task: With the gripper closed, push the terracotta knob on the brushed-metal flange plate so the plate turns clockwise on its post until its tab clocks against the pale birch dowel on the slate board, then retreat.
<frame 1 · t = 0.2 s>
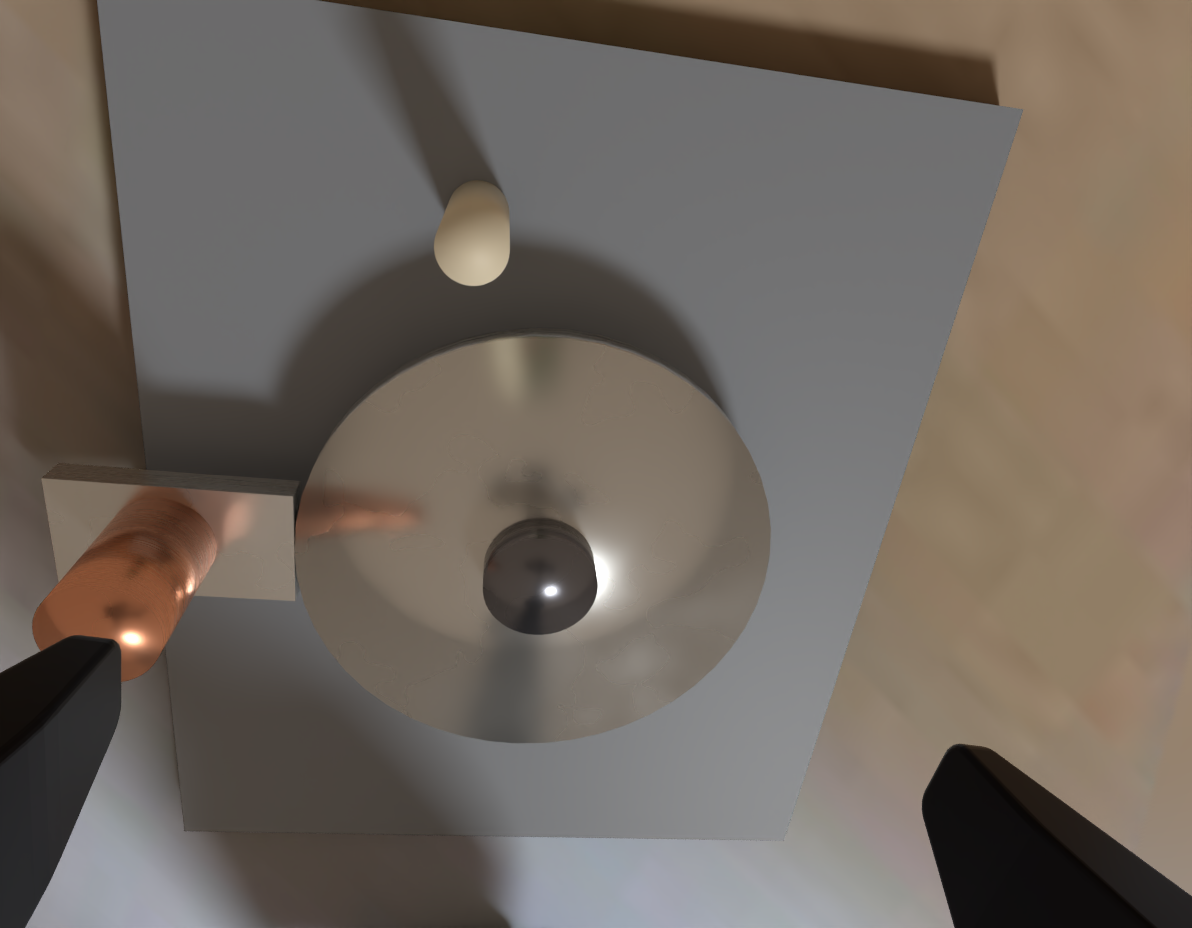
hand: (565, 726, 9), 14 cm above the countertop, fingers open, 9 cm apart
flange plate: (424, 591, 20), point 4 cm above the countertop, hinge at 0.0°
slate board: (535, 510, 24), on the countertop
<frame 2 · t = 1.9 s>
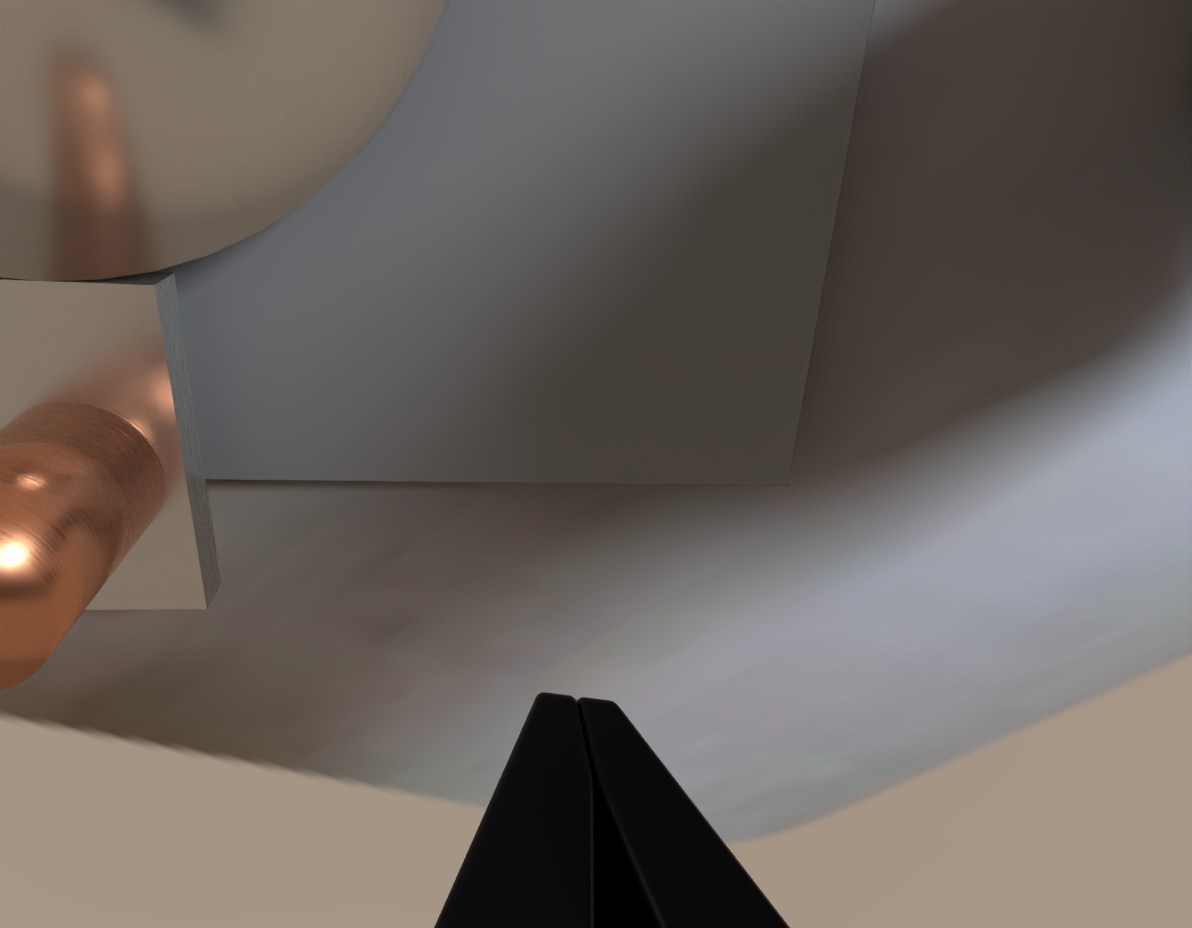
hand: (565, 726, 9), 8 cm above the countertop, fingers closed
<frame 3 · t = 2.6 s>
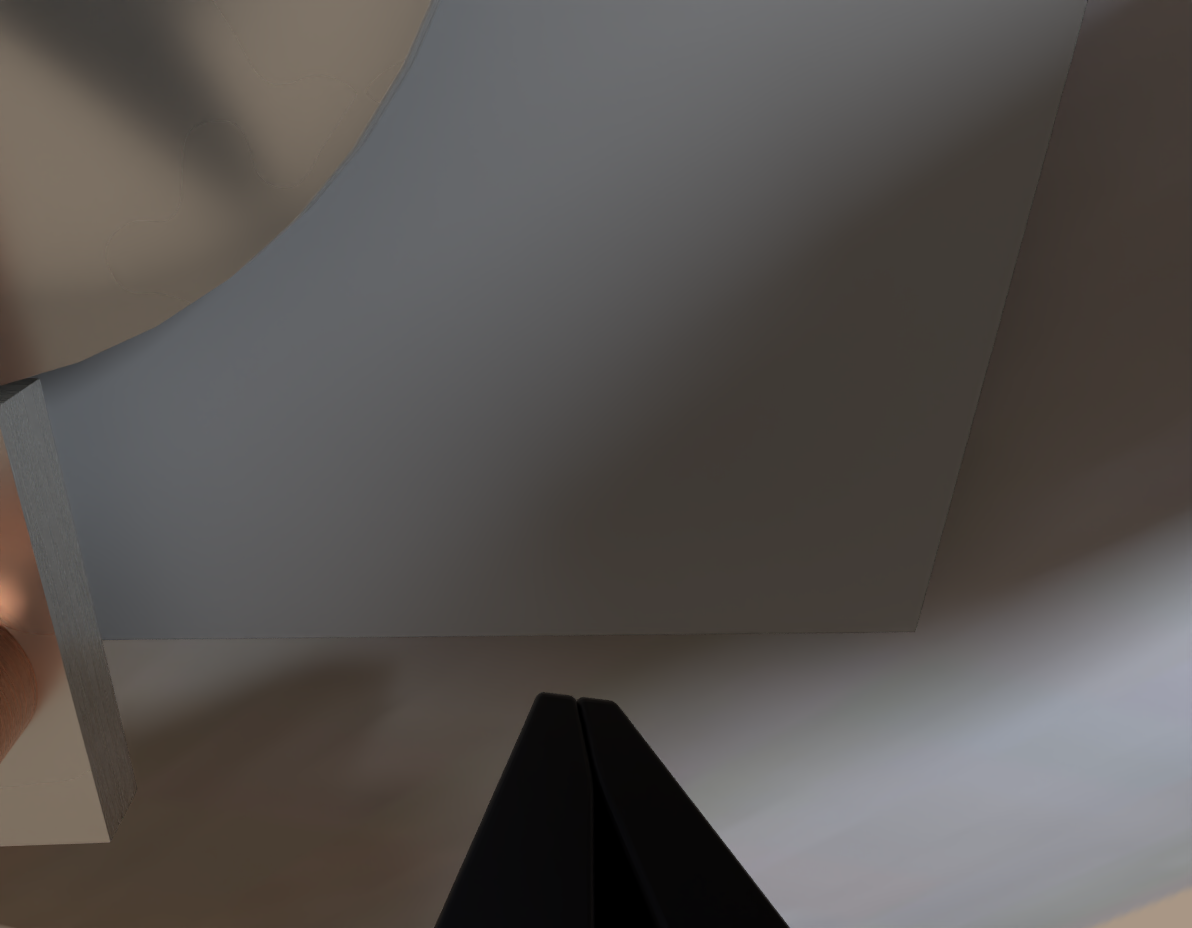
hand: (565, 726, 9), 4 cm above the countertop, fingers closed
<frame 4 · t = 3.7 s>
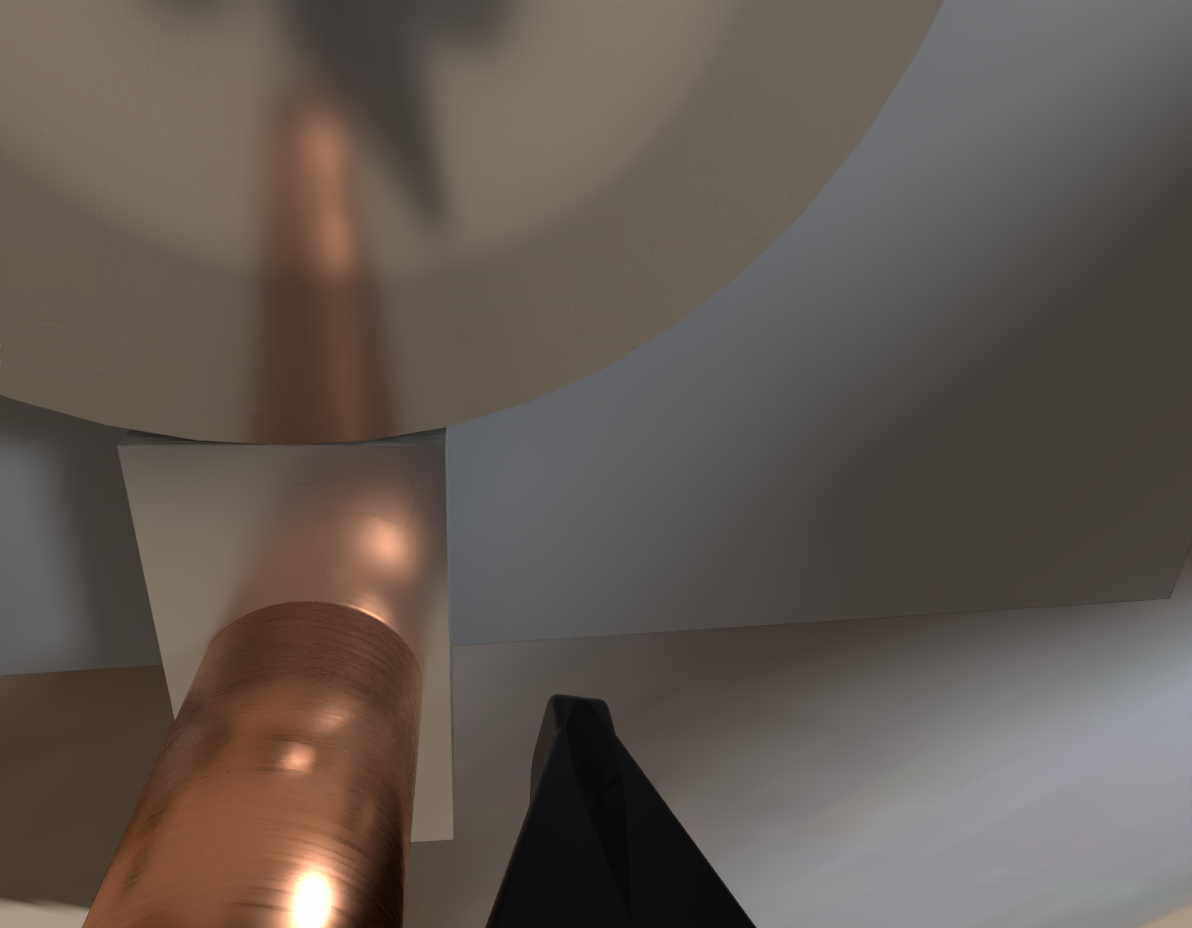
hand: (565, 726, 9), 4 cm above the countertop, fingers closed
flange plate: (187, 74, 5), point 4 cm above the countertop, hinge at 2.4°, touching gripper
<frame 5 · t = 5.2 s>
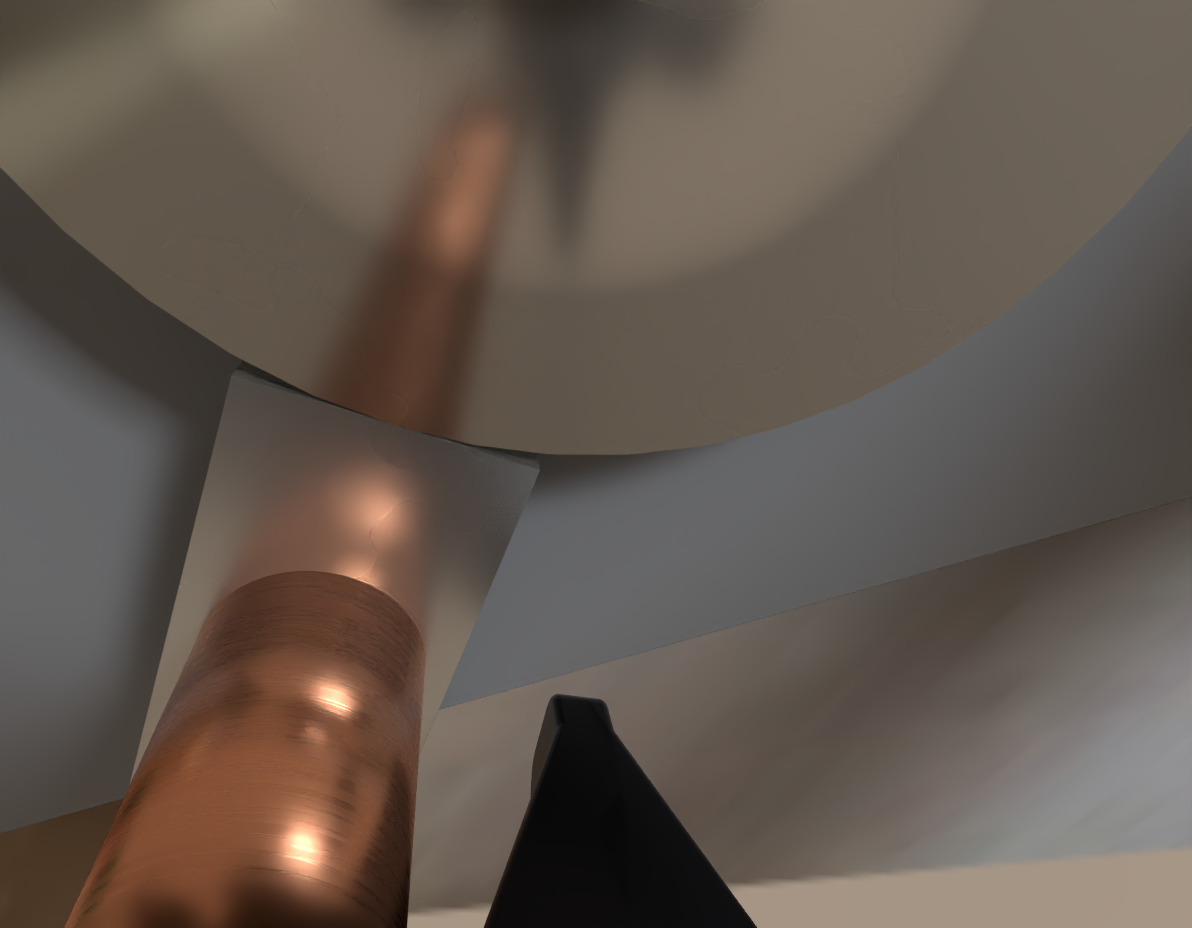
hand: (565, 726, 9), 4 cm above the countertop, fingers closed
flange plate: (519, 89, 6), point 4 cm above the countertop, hinge at 36.4°, touching gripper
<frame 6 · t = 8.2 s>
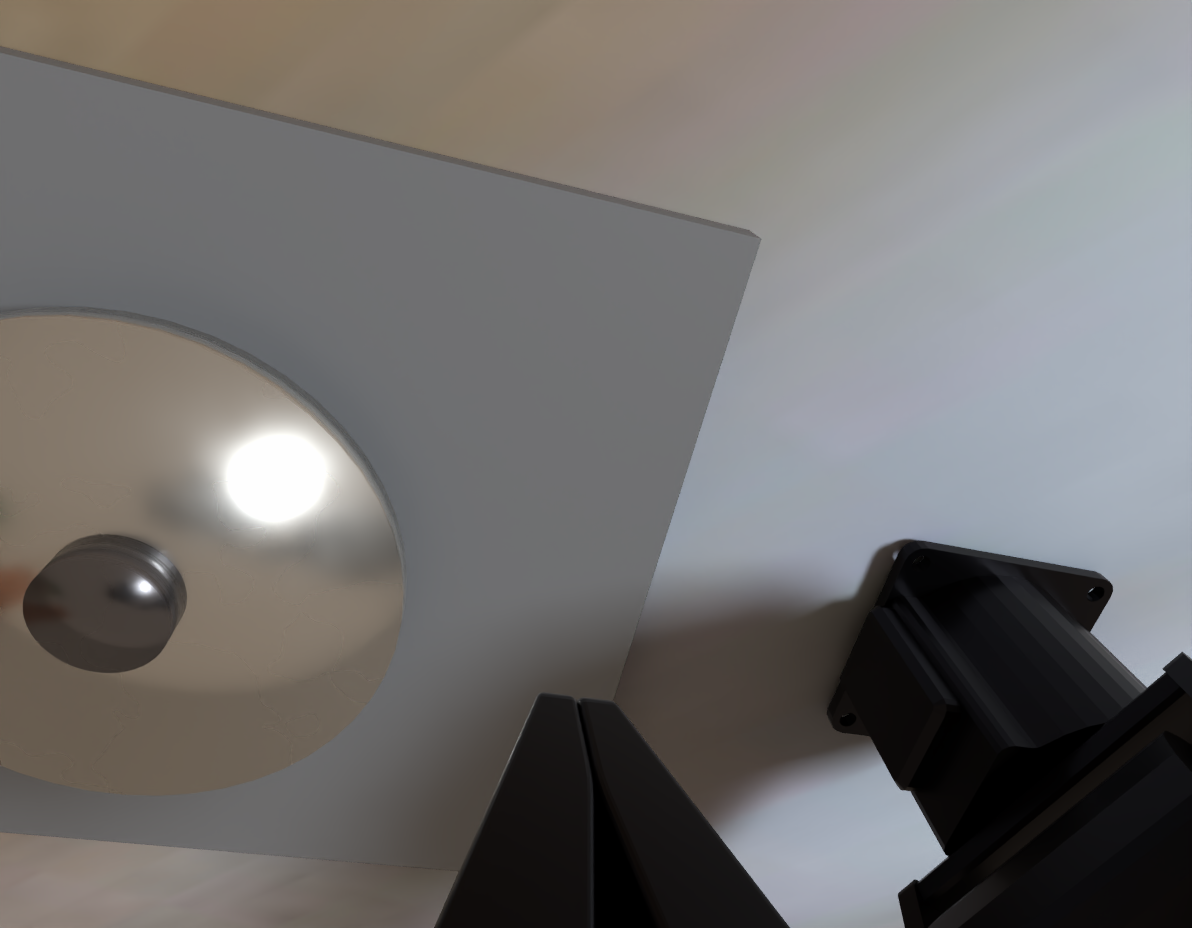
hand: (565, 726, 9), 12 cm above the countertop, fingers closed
slate board: (167, 523, 21), on the countertop
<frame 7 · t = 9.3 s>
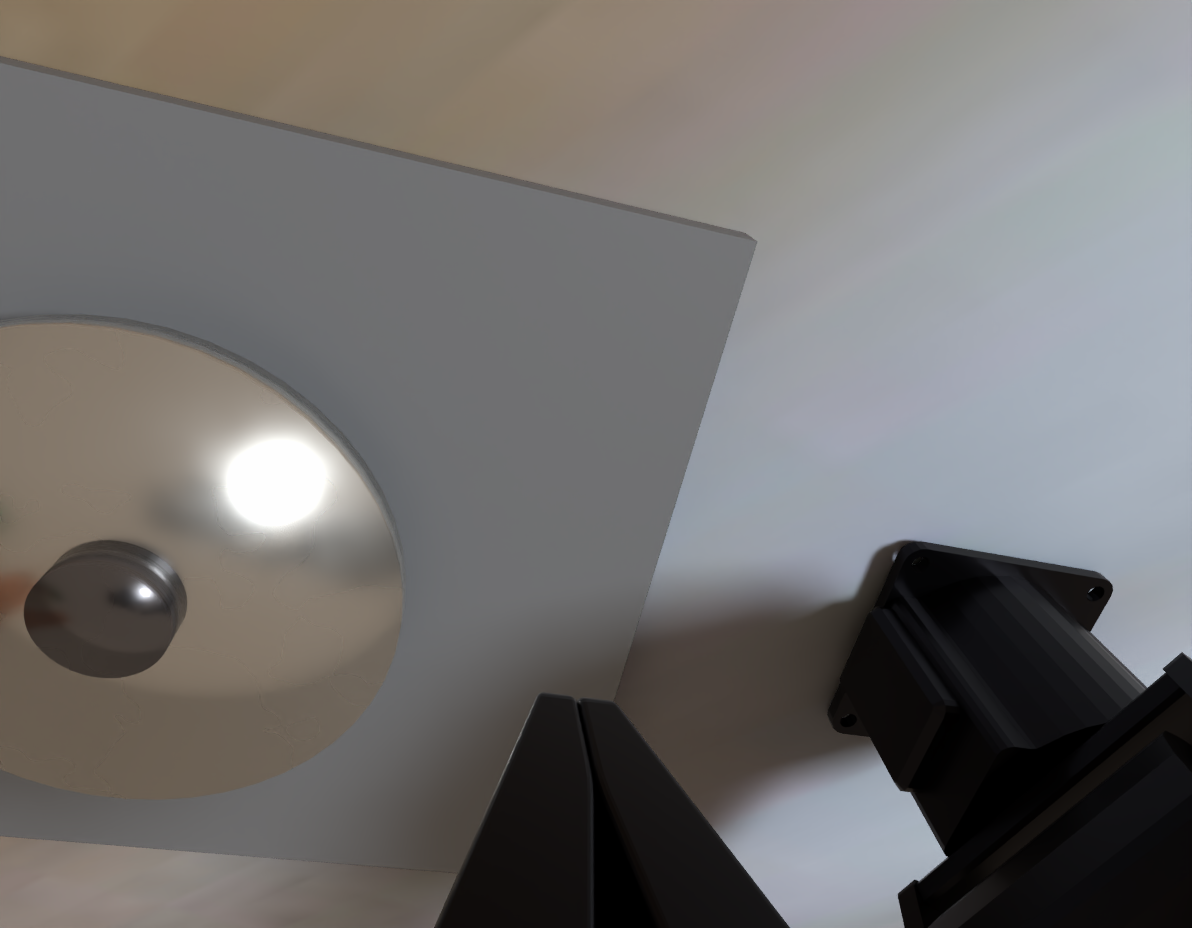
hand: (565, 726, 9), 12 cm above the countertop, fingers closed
slate board: (167, 529, 21), on the countertop
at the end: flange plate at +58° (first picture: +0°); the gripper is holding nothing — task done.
